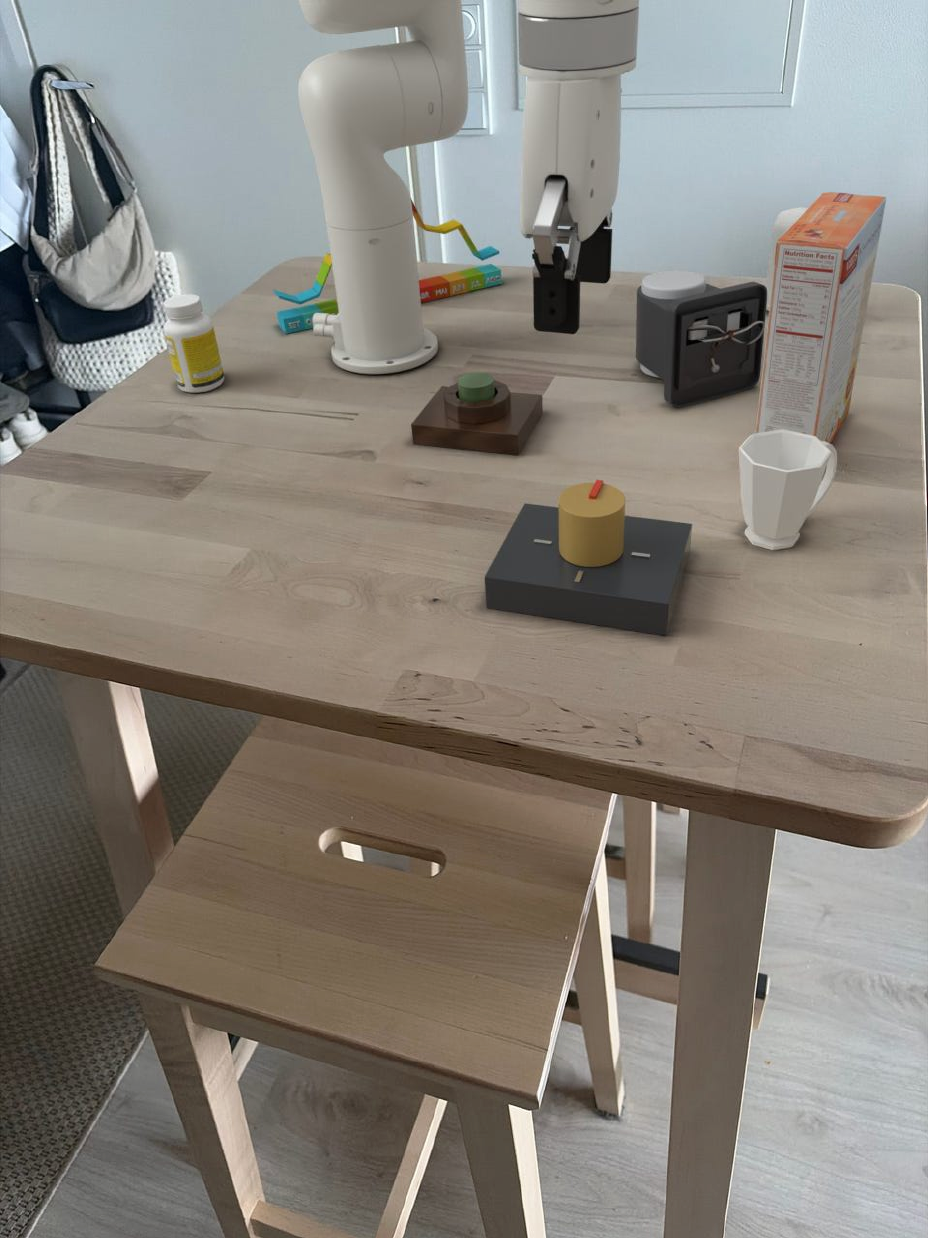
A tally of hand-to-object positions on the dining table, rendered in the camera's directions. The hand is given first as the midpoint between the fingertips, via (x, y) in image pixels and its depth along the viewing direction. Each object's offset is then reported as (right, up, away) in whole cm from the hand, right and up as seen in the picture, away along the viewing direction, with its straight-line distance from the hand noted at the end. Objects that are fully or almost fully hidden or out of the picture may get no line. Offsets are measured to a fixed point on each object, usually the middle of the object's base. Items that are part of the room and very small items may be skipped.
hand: (573, 304), depth 74 cm
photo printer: (+32, +12, +45) cm, 56 cm away
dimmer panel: (+2, -20, +6) cm, 21 cm away
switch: (-7, -1, +25) cm, 26 cm away
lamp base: (-7, -4, +27) cm, 28 cm away
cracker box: (+24, -6, +21) cm, 33 cm away
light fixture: (+16, +3, +34) cm, 37 cm away
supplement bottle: (-38, +4, +41) cm, 56 cm away
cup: (+19, -16, +10) cm, 26 cm away
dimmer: (+2, -18, +4) cm, 18 cm away
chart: (-17, +18, +57) cm, 62 cm away
